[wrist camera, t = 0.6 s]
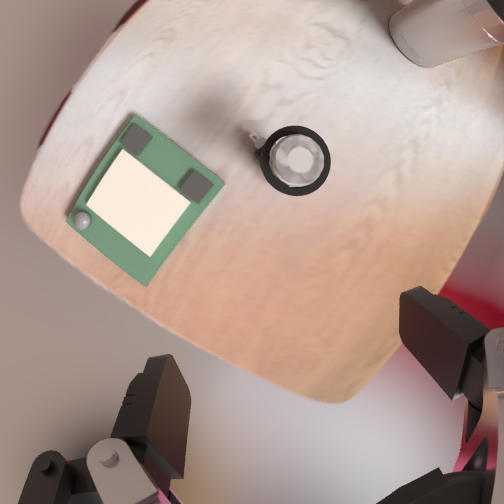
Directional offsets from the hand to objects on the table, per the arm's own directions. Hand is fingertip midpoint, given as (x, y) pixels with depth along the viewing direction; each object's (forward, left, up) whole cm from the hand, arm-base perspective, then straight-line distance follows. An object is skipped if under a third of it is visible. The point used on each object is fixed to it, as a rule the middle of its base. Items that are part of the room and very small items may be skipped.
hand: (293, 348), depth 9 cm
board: (+5, -10, -22) cm, 25 cm away
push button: (-7, -2, -23) cm, 24 cm away
